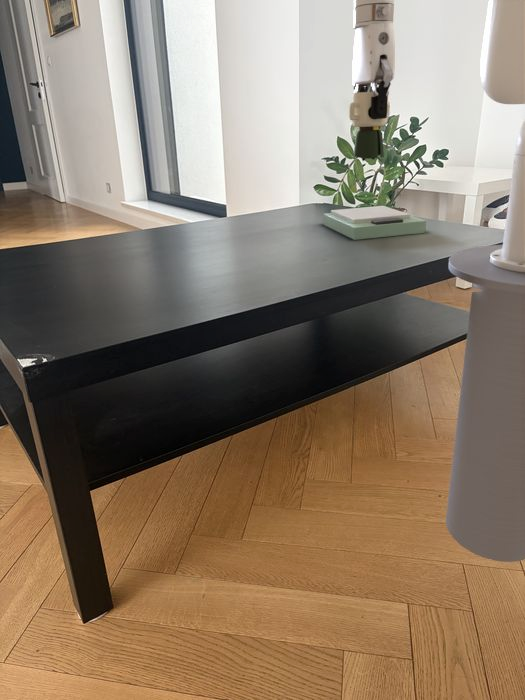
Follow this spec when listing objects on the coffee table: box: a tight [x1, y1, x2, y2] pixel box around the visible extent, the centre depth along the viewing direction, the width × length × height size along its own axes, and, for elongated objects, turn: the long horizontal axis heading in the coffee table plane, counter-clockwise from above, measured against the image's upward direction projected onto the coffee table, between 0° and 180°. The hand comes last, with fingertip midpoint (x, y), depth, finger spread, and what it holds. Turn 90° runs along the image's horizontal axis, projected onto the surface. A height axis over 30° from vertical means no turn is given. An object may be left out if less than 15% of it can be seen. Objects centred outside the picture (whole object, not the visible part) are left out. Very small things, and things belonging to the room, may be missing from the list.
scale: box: [322, 205, 427, 241], centre depth 120 cm, size 18×16×3 cm
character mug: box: [348, 91, 391, 162], centre depth 113 cm, size 11×7×13 cm, turn 125°
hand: (370, 117), depth 112 cm, fingers closed on character mug, 7 cm apart
